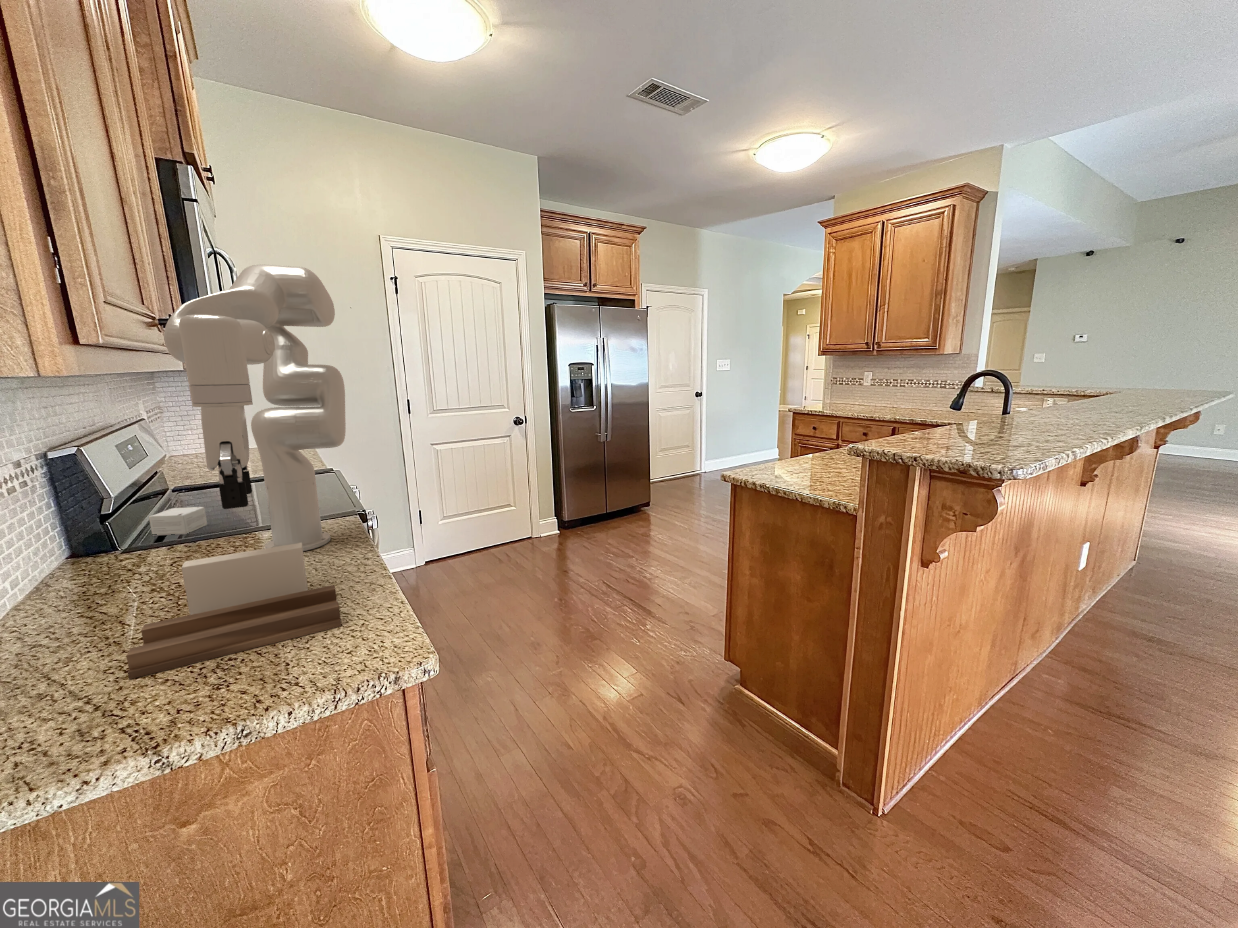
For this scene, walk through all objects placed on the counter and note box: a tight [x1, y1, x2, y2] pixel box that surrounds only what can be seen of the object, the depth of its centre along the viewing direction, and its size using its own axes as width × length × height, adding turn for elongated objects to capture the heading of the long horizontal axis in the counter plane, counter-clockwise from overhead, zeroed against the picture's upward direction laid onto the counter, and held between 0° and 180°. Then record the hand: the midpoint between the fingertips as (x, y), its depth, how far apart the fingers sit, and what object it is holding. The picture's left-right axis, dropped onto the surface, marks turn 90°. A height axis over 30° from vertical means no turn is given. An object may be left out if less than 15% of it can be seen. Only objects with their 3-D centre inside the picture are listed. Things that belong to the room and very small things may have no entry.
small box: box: [148, 506, 208, 536], centre depth 122 cm, size 8×8×5 cm
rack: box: [126, 584, 342, 680], centre depth 73 cm, size 11×24×3 cm, turn 124°
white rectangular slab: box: [181, 543, 309, 615], centre depth 83 cm, size 3×16×9 cm, turn 124°
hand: (238, 500), depth 80 cm, fingers open, 9 cm apart
